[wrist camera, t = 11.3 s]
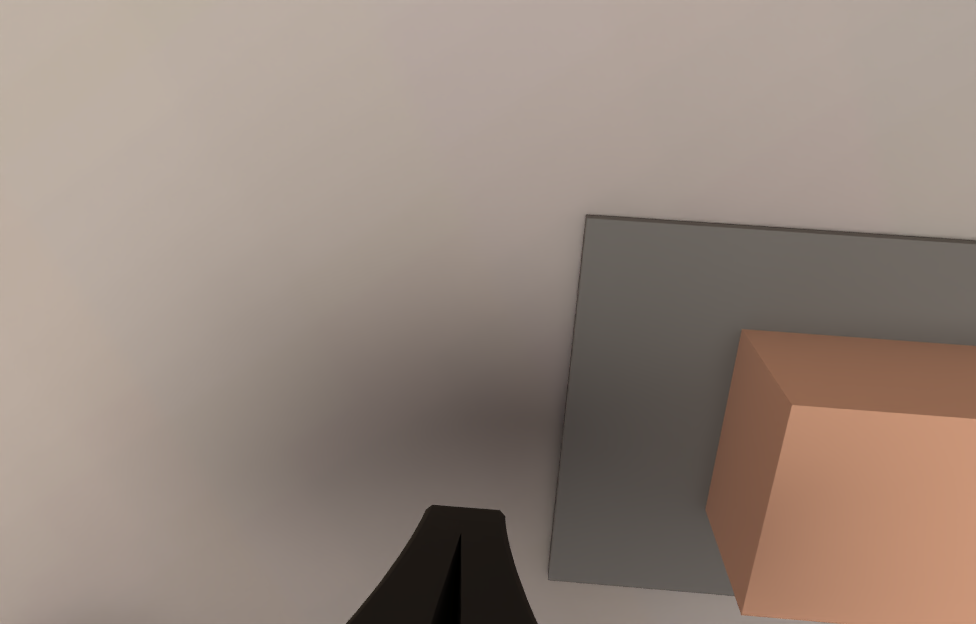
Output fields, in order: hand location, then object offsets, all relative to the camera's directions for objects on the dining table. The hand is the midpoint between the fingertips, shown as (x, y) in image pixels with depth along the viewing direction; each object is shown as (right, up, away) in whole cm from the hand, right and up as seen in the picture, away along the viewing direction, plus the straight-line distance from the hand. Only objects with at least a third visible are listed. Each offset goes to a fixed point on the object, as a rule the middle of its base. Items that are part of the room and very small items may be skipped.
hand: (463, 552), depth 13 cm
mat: (+7, +2, +5) cm, 9 cm away
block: (+6, +1, +3) cm, 7 cm away
